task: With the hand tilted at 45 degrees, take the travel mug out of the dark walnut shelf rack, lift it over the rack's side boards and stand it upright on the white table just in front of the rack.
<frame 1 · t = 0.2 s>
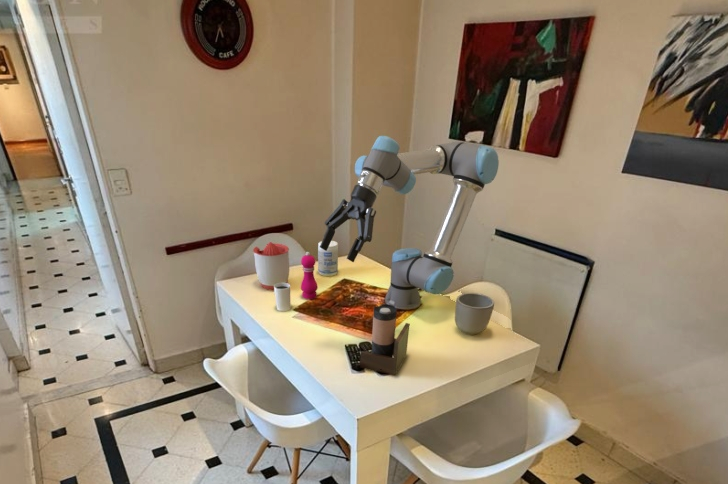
hand: (336, 254, 144), 36 cm above the table, tool tilted 35°, fingers open, 13 cm apart
planter: (469, 331, 179), on the table
supplement tub: (328, 273, 225), on the table
pepper mill: (309, 296, 203), on the table
citrus juicer: (273, 285, 213), on the table
travel mug: (381, 361, 161), resting in shelf rack
shelf rack: (381, 361, 161), on the table
white cup: (283, 308, 193), on the table
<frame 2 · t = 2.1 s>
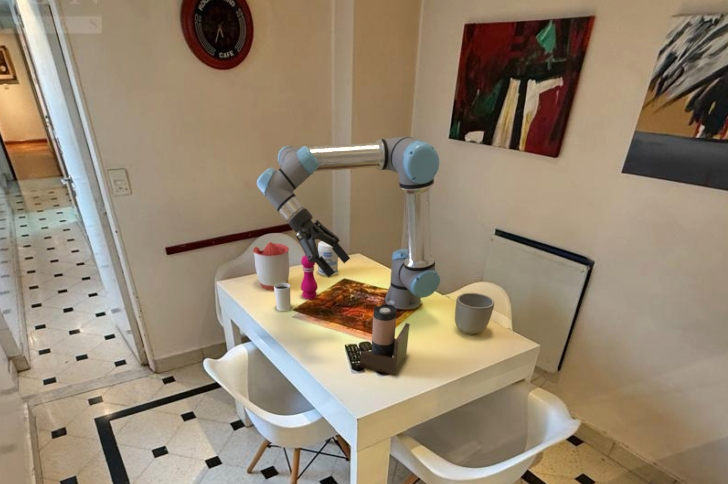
hand: (339, 267, 151), 30 cm above the table, tool tilted 45°, fingers open, 13 cm apart
nothing on the table moved.
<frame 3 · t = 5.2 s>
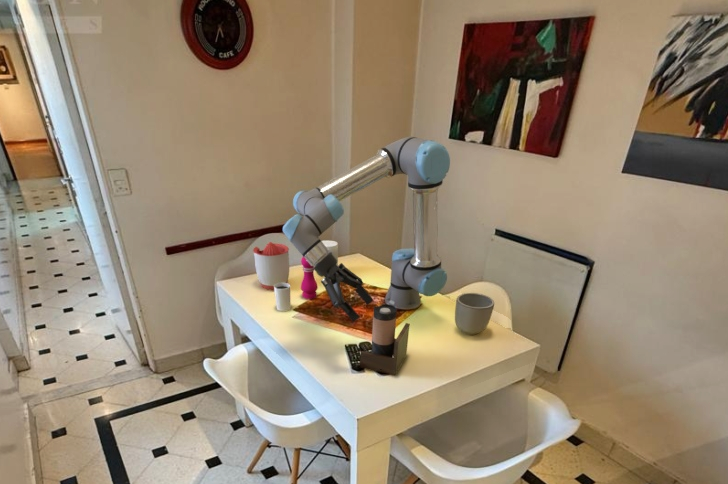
hand: (363, 310, 152), 18 cm above the table, tool tilted 45°, fingers open, 13 cm apart
nothing on the table moved.
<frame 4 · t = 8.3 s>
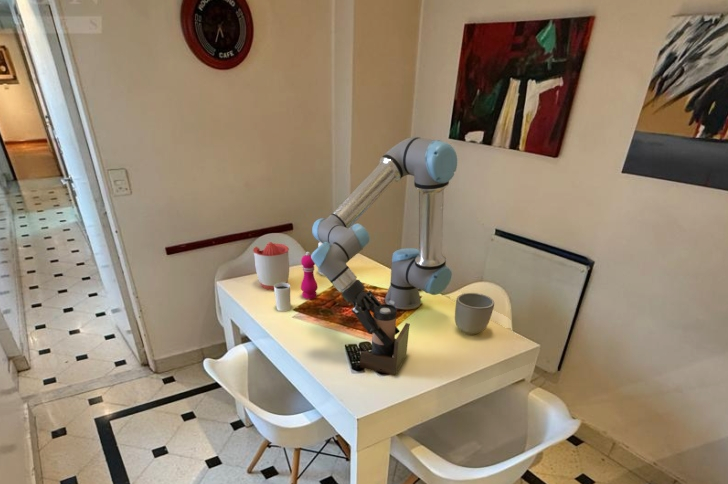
hand: (393, 339, 154), 10 cm above the table, tool tilted 45°, fingers closed on travel mug, 7 cm apart
travel mug: (381, 361, 161), resting in shelf rack, touching gripper
everything else where it was.
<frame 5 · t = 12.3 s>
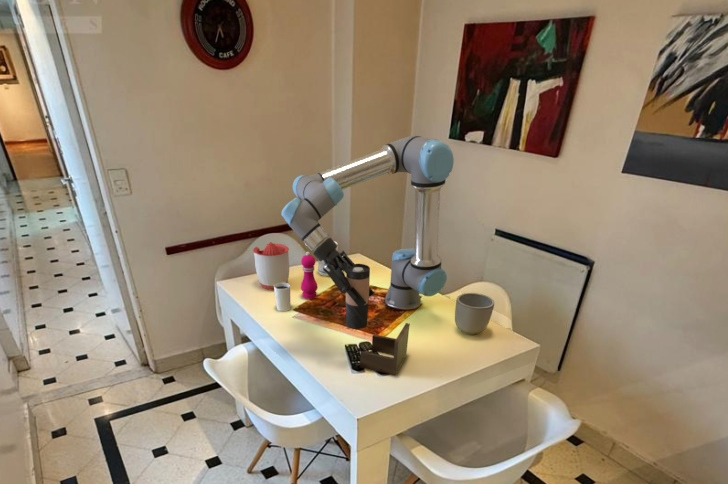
hand: (367, 300, 150), 22 cm above the table, tool tilted 45°, fingers closed on travel mug, 7 cm apart
travel mug: (356, 324, 157), point 12 cm above the table, touching gripper
everything else where it was.
when the fingers open (10 cm above the table, at t = 16.2 s): travel mug stays where it is, on the table.
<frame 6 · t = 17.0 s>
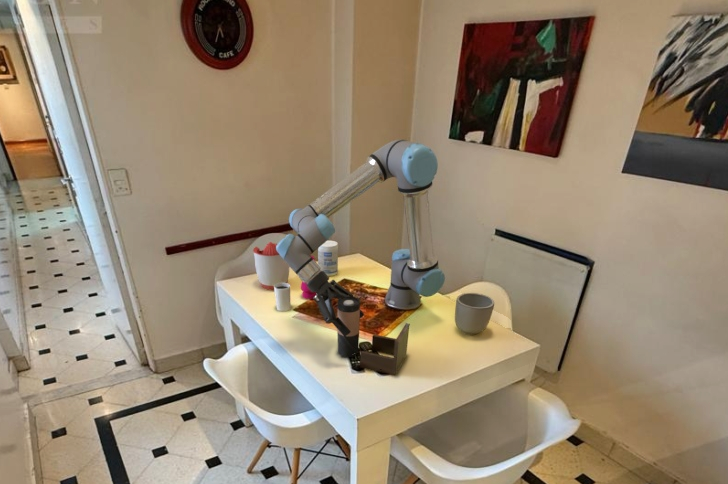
hand: (355, 325, 158), 11 cm above the table, tool tilted 45°, fingers open, 13 cm apart
travel mug: (348, 352, 165), on the table
everything else where it was.
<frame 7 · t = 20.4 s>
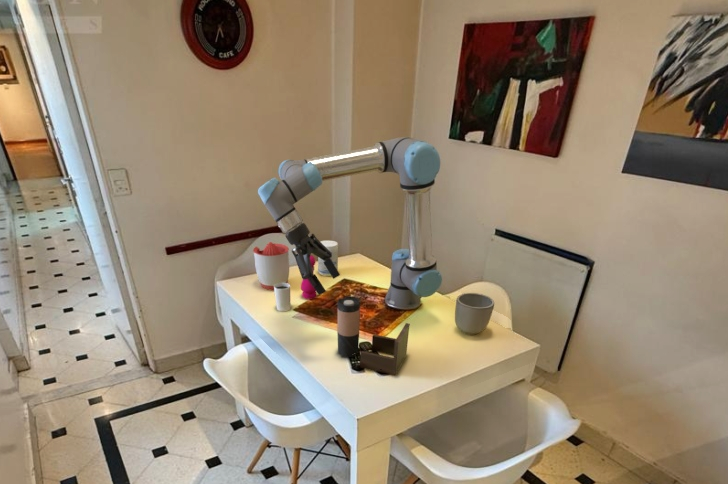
hand: (329, 284, 155), 24 cm above the table, tool tilted 35°, fingers open, 13 cm apart
nothing on the table moved.
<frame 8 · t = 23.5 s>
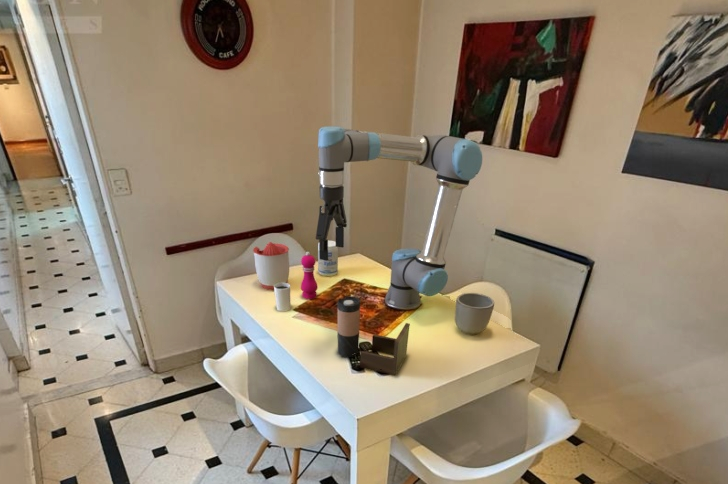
hand: (332, 253, 154), 33 cm above the table, tool pointing down, fingers open, 13 cm apart
nothing on the table moved.
at the end: travel mug inside the target area (0.0 cm from its centre), on the table; travel mug tilted 0°; the gripper is holding nothing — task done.
